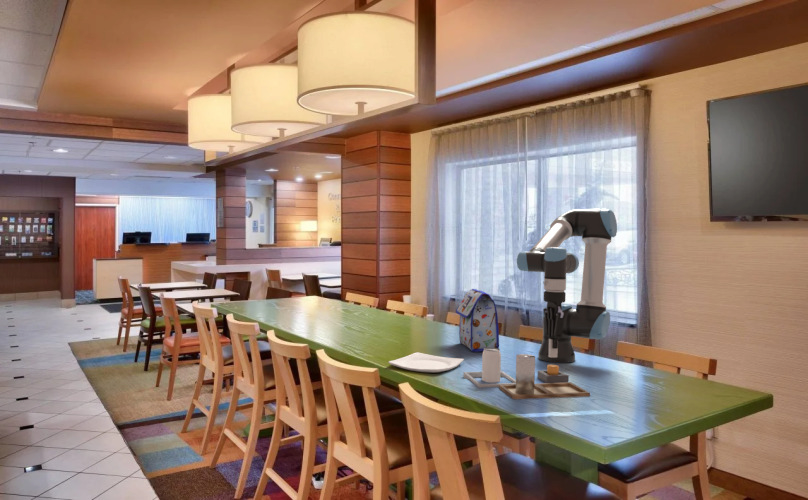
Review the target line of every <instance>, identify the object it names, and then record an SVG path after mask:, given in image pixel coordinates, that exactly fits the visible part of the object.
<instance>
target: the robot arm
mask: <svg viewBox="0 0 808 500" xmlns="http://www.w3.org/2000/svg"><path fill="white" fill-rule="evenodd" d="M617 233H618V223H617V219H616V215H615V213H614V211H613V210H612V209H609V208H582V209H581V208H576V209H571V210H569V211H566V212H564V213H562V214H561V215H559V216H557V218H555V219H554V220H553V221H552V222H551V224H550V226H549V229H548V230H547V231H546V233H544V234H543V236H542V237H541V238H540V239H539V240H538V241H537V242H536V243H535V244H534V245H533V247H532V248H531V249H530V250H529V251H520V252H519V253H518V254H517V257H516V266H517V269H518V270H519V271H520V272H521V271H522V272H527V273H529V272H535V273H543V274H544V275H543V276H544V277H543V278H544V281H543V282H542V283H543V289H544V291H543V301H544V302H546V306H545V307H544V308H543V309H542V310H543V316H542V319H543V321H542V342H541V345H540V347H539V350H538V353H537V354H538V355H537V358H538V359H539V360H541V361H544V362H549V363H559V364H561V363H564V364H566V363H567V364H568V363H572V362H573V363H574V362H575V361H576V354H575V350H574V347H573V344H572V337H575V338H582V339H589V340H602V339H604V338H605V337H606V336H607V333H608V331H609V329H610V324H611V314H610V311H608V310H607V307H606V305H605V304H604V302H603V301H604V291H605V290H604V289H605V277H606V276H605V274H606V264H607V263H606V262H607V250H608V249H607V247H608V245H609V244H610V243H612V238H615V237H616V236H617ZM570 237H571V238H572V237H581V241H582V243H584V245H585V246H584V257H583V269H582V270H583V271H582V283H581V293H580V294H581V295H580V301H578V302H577V303H576V306H575V307H576V308H573V305H572V304H563V303H565V302H566V292H565V291H566V290H567V274H572V273H575V271H577V270H578V268H579V267H580V266H579V265H580V260H579V257H578V256H577V255H576V254H574V253H571V252H567V251H568V250H567V249H566V248H565V247H560V246H561V245H562V243H564V241H566V240H568V239H570Z"/></svg>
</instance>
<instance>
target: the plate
mask: <svg viewBox="0 0 808 500" xmlns="http://www.w3.org/2000/svg"><path fill="white" fill-rule="evenodd" d="M464 360H465V359H464V358H456V357H447V356H439V355H432V354H427V353H422V352H418V351H417V352H416V351H415V352H414V353H411V354H409V355H406V356H403V357H400V358H397V359H394V360H388V364H390V365H391V366H393V367H397V368H399V369H404V370H408V371H412V372H418V373H419V372H420V373H430V374H431V373H433V374H434V373H441V372H445V371H450V370H452V369H454V368H456V367H458V366H459V365H460V364H461V363H462V362H463V361H464Z"/></svg>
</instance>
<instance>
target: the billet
mask: <svg viewBox="0 0 808 500" xmlns="http://www.w3.org/2000/svg"><path fill="white" fill-rule="evenodd" d="M515 359H516V360H515V380H516V393H517V394H521V395H526V394H534V384H536V382H535V378H536V375H535V374H536V356H535V355H533V354H528V353H527V354H526V353H520V354H516V356H515Z"/></svg>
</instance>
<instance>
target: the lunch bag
mask: <svg viewBox="0 0 808 500" xmlns="http://www.w3.org/2000/svg"><path fill="white" fill-rule="evenodd" d="M455 313H456V314H457V315H459V333H458V334H459V343H460V344H461V345H464V346H465V347H466V348H468V349H469V350H471V352H475V353H476V352H483V351H484V348H498V349H500V329H499V319H498V318H499V317H498V316H499V315H498V311H497V305H496V302H495V300H494V299H493V298H492V296H491V295H490V294H488V293H487V292H485V291H484V290H483V291H482V290H478V289H477V288H471V289H469V290H468V291H467V292H466V293H465V294H464V296H463V298H462V300H461V302H460V303H459V304H458V306H457V308H456V309H455Z"/></svg>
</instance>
